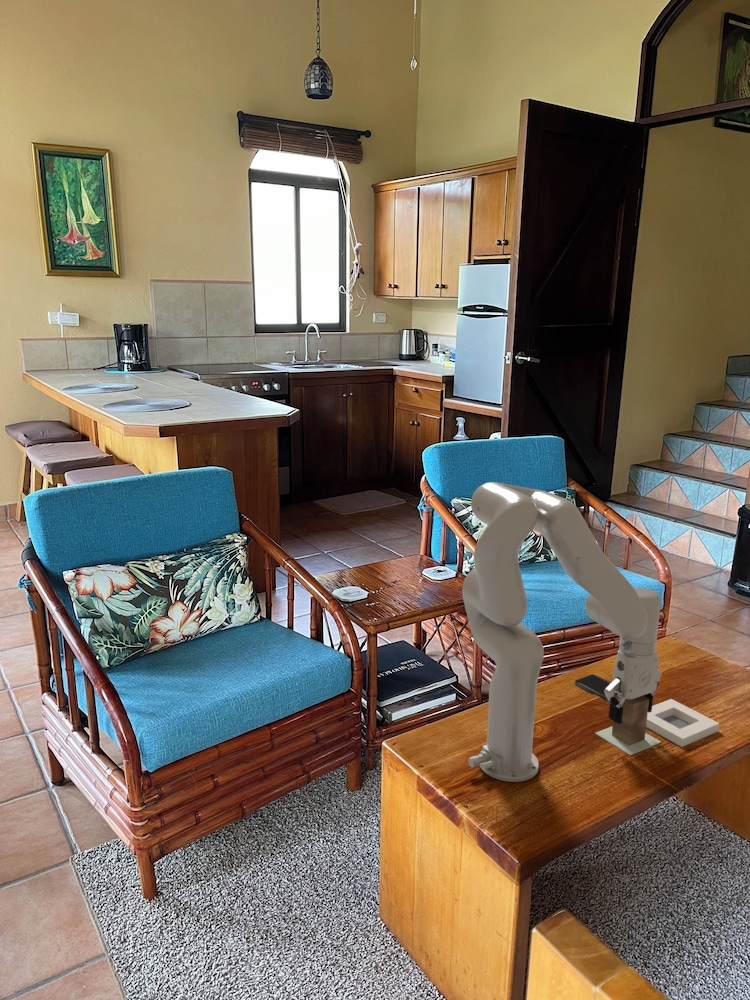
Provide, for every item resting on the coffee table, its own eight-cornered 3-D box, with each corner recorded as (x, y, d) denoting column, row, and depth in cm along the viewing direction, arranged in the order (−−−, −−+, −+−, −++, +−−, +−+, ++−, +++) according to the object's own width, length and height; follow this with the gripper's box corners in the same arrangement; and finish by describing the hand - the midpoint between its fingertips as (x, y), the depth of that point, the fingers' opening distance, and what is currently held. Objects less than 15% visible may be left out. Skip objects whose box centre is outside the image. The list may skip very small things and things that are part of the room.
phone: (620, 706, 180) (573, 681, 192) (619, 710, 180) (572, 684, 192) (641, 697, 184) (593, 673, 196) (640, 701, 184) (593, 677, 196)
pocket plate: (681, 748, 163) (682, 739, 163) (634, 721, 174) (635, 712, 173) (718, 732, 170) (719, 723, 169) (670, 707, 181) (671, 698, 180)
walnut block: (629, 745, 163) (633, 704, 161) (611, 734, 167) (615, 694, 165) (644, 739, 166) (649, 698, 163) (626, 728, 170) (630, 689, 167)
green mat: (630, 757, 160) (630, 754, 160) (595, 735, 168) (595, 732, 168) (660, 744, 165) (661, 741, 165) (625, 723, 173) (625, 721, 173)
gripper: (624, 660, 154) (616, 733, 158) (678, 642, 162) (669, 712, 166) (596, 646, 160) (590, 717, 164) (649, 630, 168) (642, 698, 173)
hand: (630, 715), depth 165 cm, fingers open, 9 cm apart
